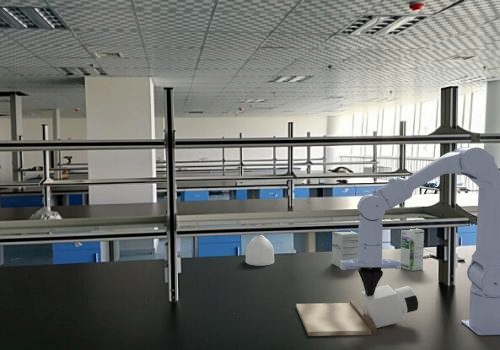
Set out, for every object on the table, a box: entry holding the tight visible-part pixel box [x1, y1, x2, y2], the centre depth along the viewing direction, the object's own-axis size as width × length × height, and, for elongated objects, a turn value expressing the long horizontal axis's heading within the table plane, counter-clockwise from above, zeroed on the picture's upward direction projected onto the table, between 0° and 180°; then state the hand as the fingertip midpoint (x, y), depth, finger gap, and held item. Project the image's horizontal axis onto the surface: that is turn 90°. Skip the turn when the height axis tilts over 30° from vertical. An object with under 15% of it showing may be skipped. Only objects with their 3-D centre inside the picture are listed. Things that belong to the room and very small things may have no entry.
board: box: [295, 299, 377, 337], centre depth 110 cm, size 16×18×2 cm
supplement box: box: [331, 230, 359, 268], centre depth 161 cm, size 7×7×13 cm
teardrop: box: [245, 234, 275, 267], centre depth 166 cm, size 11×11×12 cm
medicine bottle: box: [361, 284, 419, 329], centre depth 108 cm, size 7×7×12 cm
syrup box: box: [399, 228, 425, 272], centre depth 157 cm, size 6×6×14 cm
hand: (369, 297), depth 108 cm, fingers closed
